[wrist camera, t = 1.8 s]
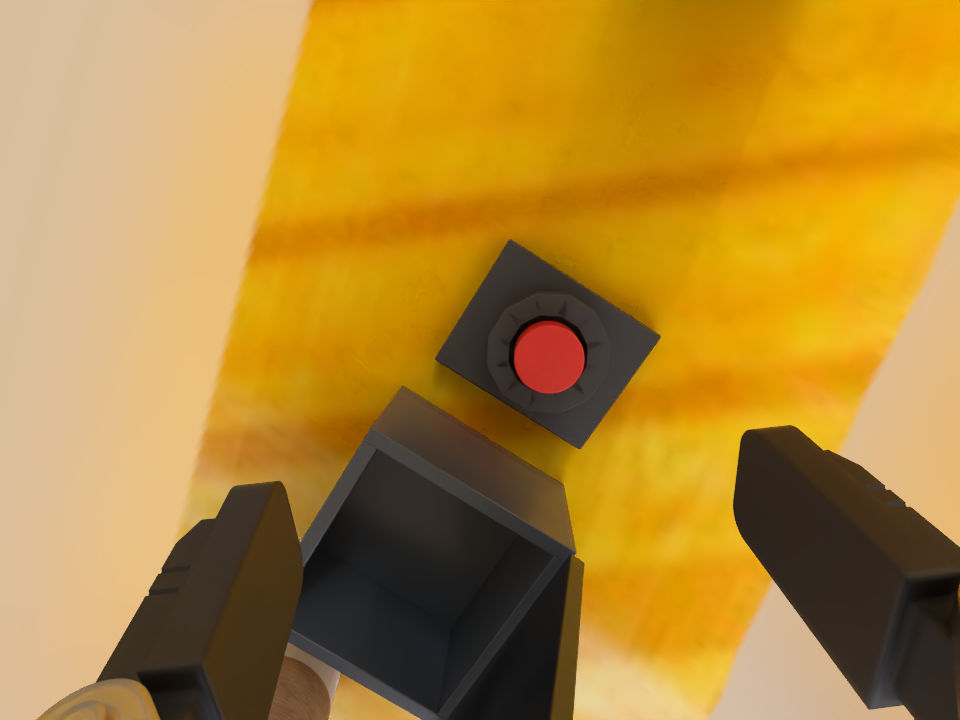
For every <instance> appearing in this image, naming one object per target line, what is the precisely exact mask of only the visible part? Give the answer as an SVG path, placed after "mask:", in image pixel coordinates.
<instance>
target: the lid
mask: <svg viewBox="0 0 960 720" xmlns="http://www.w3.org/2000/svg"><path fill="white" fill-rule="evenodd" d="M583 574H584V563H583V562H582V561H581V560H579V559H578V558H576V557H575V556H574V555H572V554H570V555H569V557H568V558H567V559H566V561H565V562H564V563H563V565H562V566H561V567H560V569H559V570H558V571H557V573H556V574H555V575H554V577H553V578H552V579H551V581H550V582H549V583H548V585H547V586H546V587H545V589H544V590H543V591H542V593H541V594H540V595H539V597H538V598H537V599H536V601H535V602H534V603H533V605H532V606H531V607H530V609H529V610H528V611H527V613H526V614H525V615H524V617H523V618H522V619H521V621H520V622H519V623H518V625H517V626H516V627H515V629H514V630H513V631H512V633H511V634H510V635H509V637H508V638H507V639H506V641H505V642H504V643H503V645H502V646H501V647H500V649H499V650H498V651H497V653H496V654H495V655H494V657H493V658H492V660H491V661H490V662H489V664H488V665H487V666H486V668H485V669H484V670H483V672H482V673H481V674H480V676H479V677H478V678H477V680H476V681H475V682H474V684H473V685H472V686H471V688H470V689H469V690H468V692H467V693H466V694H465V696H464V697H463V698H462V700H461V701H460V702H459V704H458V705H457V706H456V708H455V709H454V710H453V712H452V713H451V714H450V716H449V717H448V718H447V720H573V711H574V697H575V683H576V670H577V656H578V642H579V629H580V615H581V601H582V587H583Z"/></svg>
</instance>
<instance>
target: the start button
mask: <svg viewBox="0 0 960 720" xmlns="http://www.w3.org/2000/svg"><path fill="white" fill-rule="evenodd" d="M584 362H585V356H584V350H583V347H582V345H581V343H580V341H579V339H578V338H577V336H576V335H575V333H574V332H573V331H572V330H571V329H570V328H569V327H567V326H566V325H564V324H562V323H559V322H556V321H540V322H537V323H534V324H532V325H530V326H529V327H527V328H526V329H525V330H524V331H523V332H522V333H521V335H520V336H519V338H518V339H517V342H516V345H515V349H514V365H515V369H516V372H517V375H518V376H519V378H520V380H521V381H522V382H523V383H524V384H525V385H526V386H527V387H529V388H530V389H532V390H534V391H537V392H540V393H545V394H553V393H558V392H561V391H564V390H566V389H568V388H569V387H571V386H572V385H573V384H574V383H575V382H576V381H577V380H578V379H579V377H580V375H581V373H582V371H583V368H584Z"/></svg>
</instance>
